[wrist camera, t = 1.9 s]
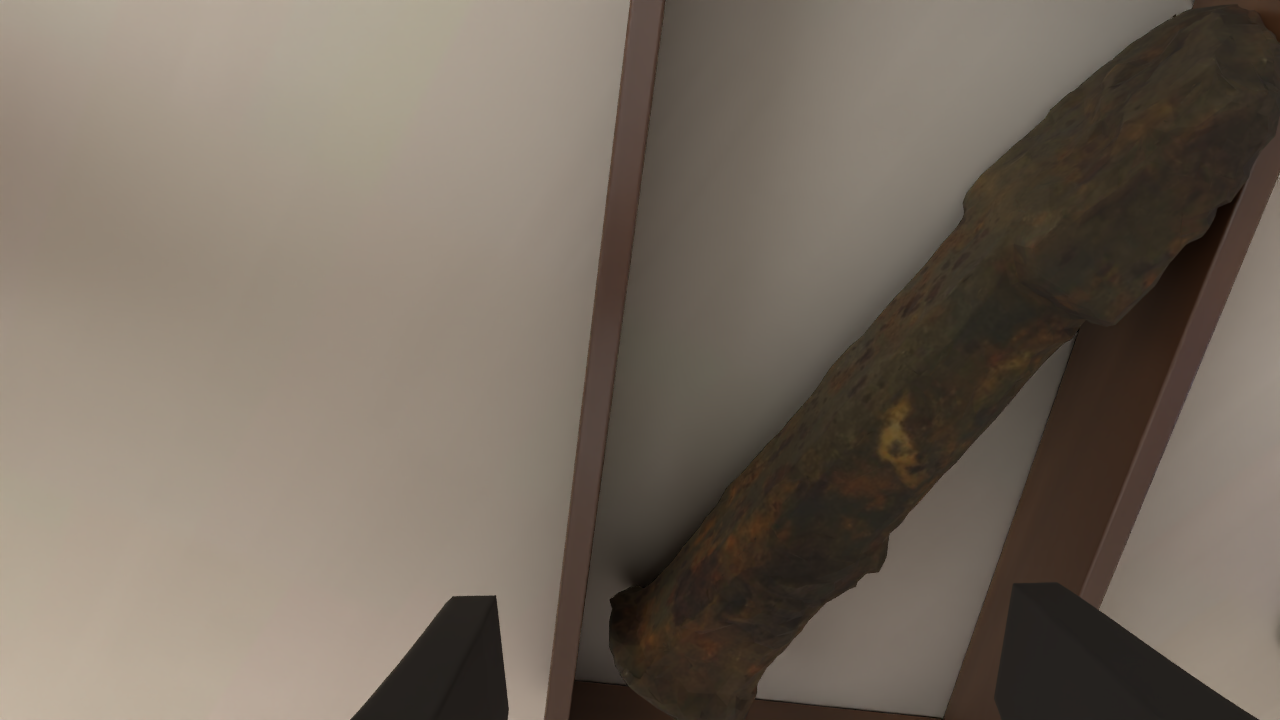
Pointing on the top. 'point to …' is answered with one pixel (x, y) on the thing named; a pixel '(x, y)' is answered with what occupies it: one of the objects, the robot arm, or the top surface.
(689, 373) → the top surface
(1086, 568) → the storage box
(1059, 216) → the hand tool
